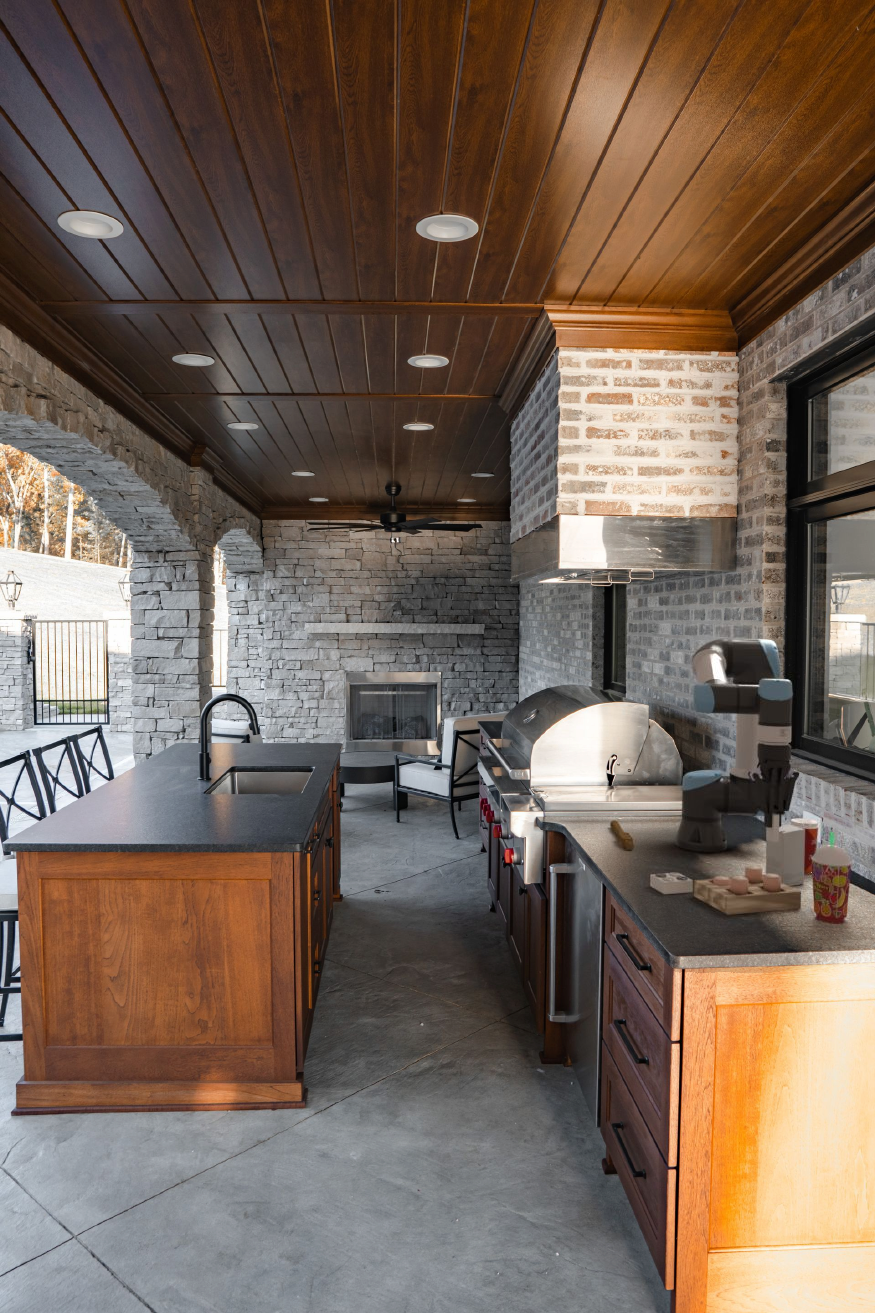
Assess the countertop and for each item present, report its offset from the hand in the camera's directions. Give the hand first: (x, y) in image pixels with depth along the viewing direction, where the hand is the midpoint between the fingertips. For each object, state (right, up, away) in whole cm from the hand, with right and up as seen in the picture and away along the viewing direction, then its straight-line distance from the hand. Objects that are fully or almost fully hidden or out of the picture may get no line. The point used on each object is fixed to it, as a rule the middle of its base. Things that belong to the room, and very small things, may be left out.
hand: (772, 840), depth 197 cm
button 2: (-9, -12, -2) cm, 15 cm away
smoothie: (+10, -16, -9) cm, 21 cm away
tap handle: (-22, -15, +65) cm, 70 cm away
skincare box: (+11, -16, +18) cm, 26 cm away
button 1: (-11, -14, +5) cm, 18 cm away
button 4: (0, -12, 0) cm, 12 cm away
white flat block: (-21, -15, +13) cm, 29 cm away
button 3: (-2, -12, +7) cm, 14 cm away
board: (-5, -16, +3) cm, 17 cm away
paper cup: (+21, -16, +30) cm, 40 cm away
